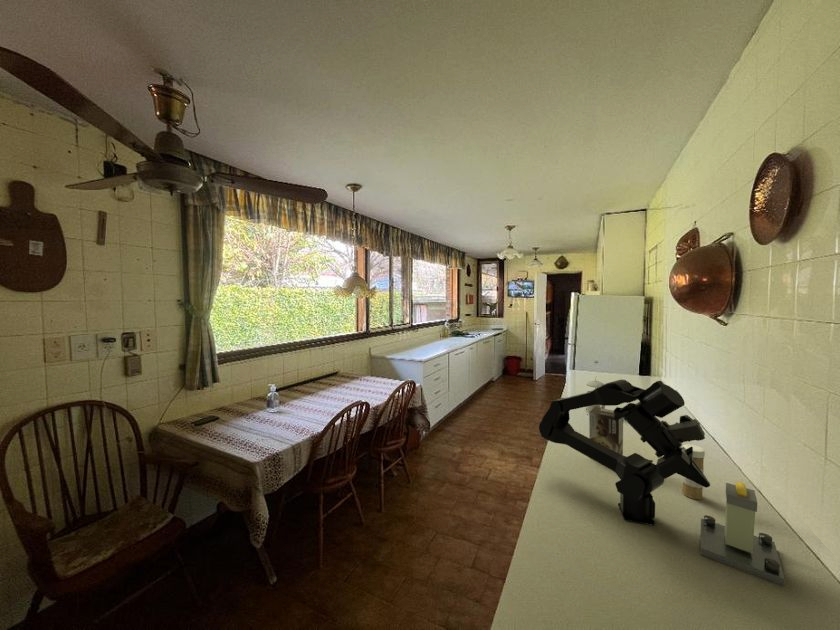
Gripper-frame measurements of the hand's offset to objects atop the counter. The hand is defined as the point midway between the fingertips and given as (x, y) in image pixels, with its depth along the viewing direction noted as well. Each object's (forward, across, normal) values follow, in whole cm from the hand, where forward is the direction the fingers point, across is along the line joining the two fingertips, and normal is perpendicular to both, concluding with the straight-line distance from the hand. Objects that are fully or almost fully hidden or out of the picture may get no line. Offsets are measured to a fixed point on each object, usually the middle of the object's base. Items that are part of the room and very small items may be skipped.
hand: (708, 486), depth 73 cm
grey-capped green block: (+11, 0, +4) cm, 11 cm away
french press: (-19, +73, +35) cm, 84 cm away
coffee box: (-10, +28, +27) cm, 40 cm away
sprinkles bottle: (+7, +20, +11) cm, 23 cm away
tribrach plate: (+12, 0, +6) cm, 14 cm away
